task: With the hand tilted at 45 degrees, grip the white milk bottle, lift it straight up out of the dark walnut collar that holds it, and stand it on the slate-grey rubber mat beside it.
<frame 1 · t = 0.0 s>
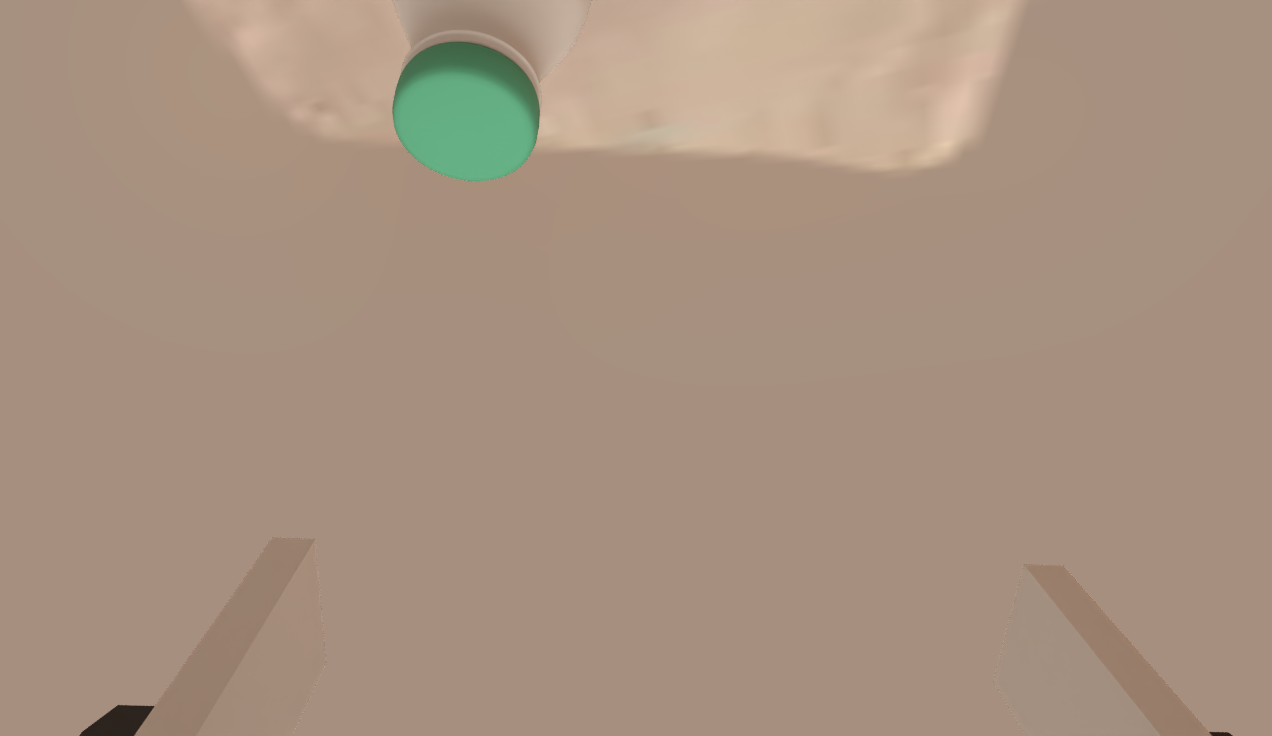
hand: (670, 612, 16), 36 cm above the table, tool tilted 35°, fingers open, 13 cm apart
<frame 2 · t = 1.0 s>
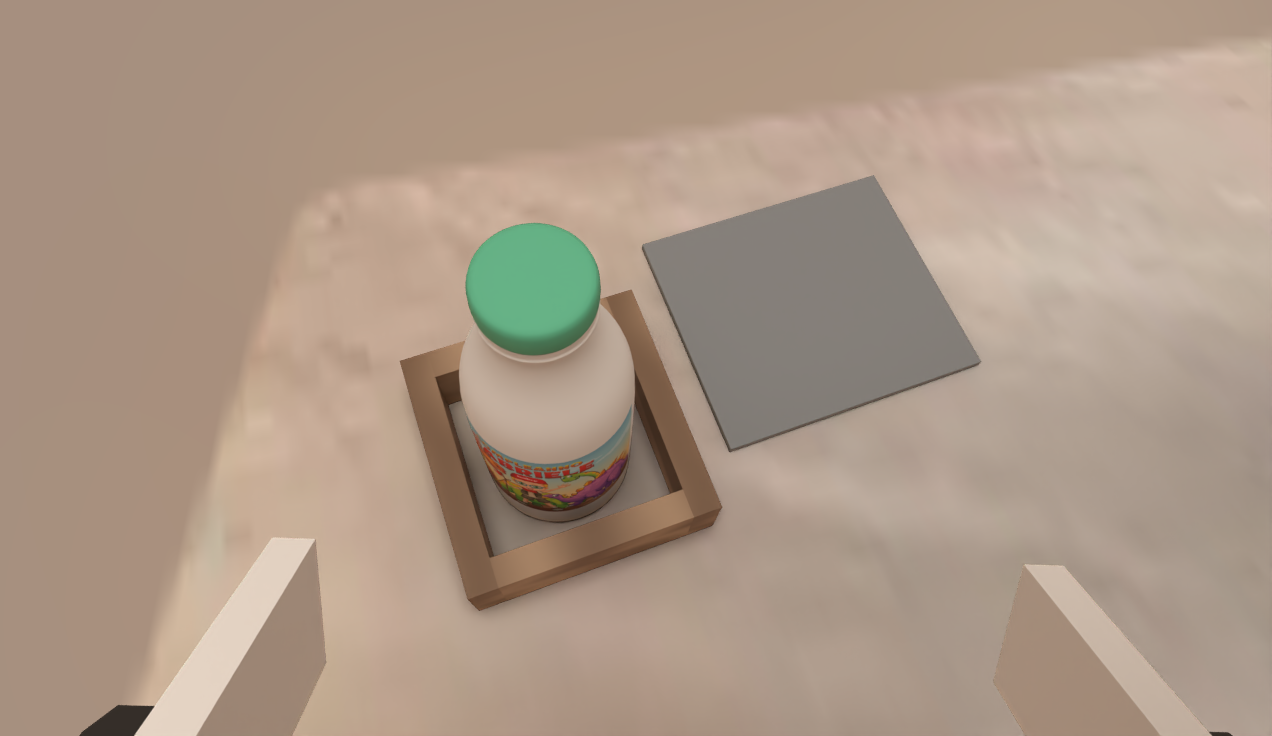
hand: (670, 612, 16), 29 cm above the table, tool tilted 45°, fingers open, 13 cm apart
milk bottle: (560, 456, 47), resting in walnut collar
slate mat: (806, 305, 51), on the table
walnut collar: (559, 455, 47), on the table
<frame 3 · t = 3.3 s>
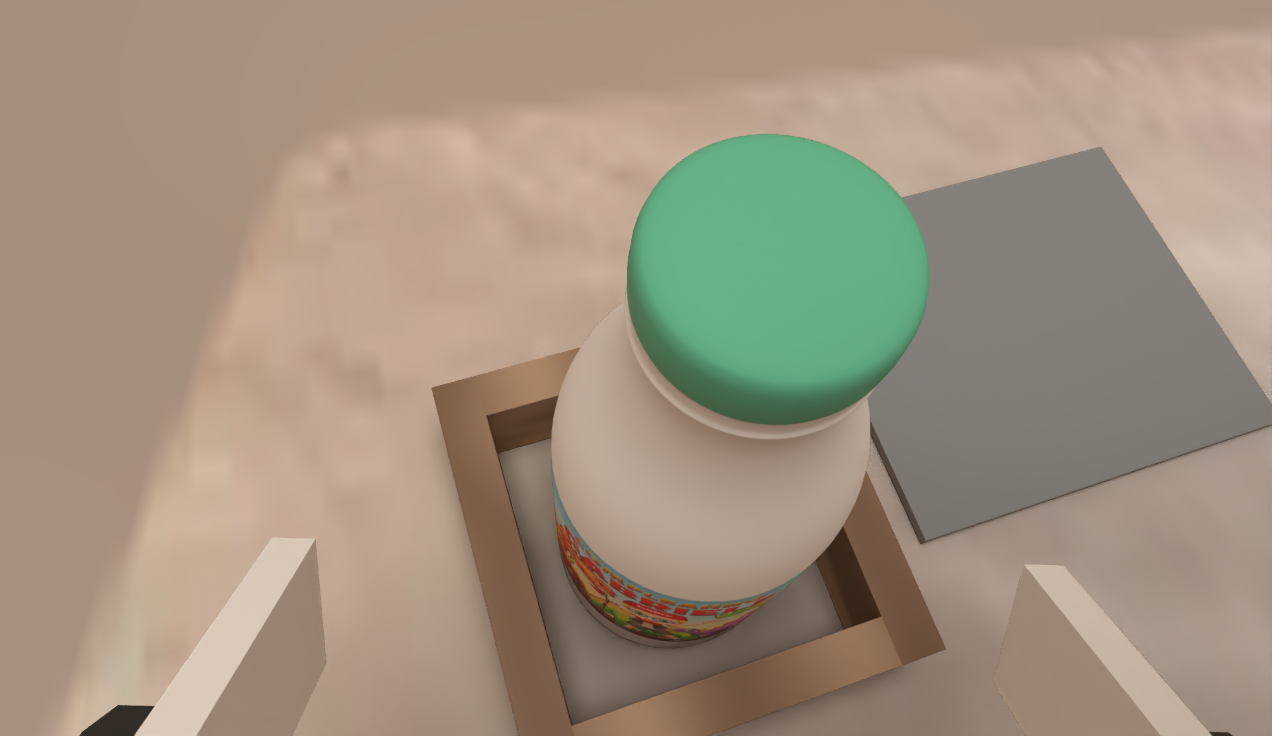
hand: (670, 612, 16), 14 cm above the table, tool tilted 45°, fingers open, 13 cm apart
milk bottle: (665, 540, 31), resting in walnut collar
slate mat: (1017, 326, 35), on the table
walnut collar: (665, 539, 31), on the table
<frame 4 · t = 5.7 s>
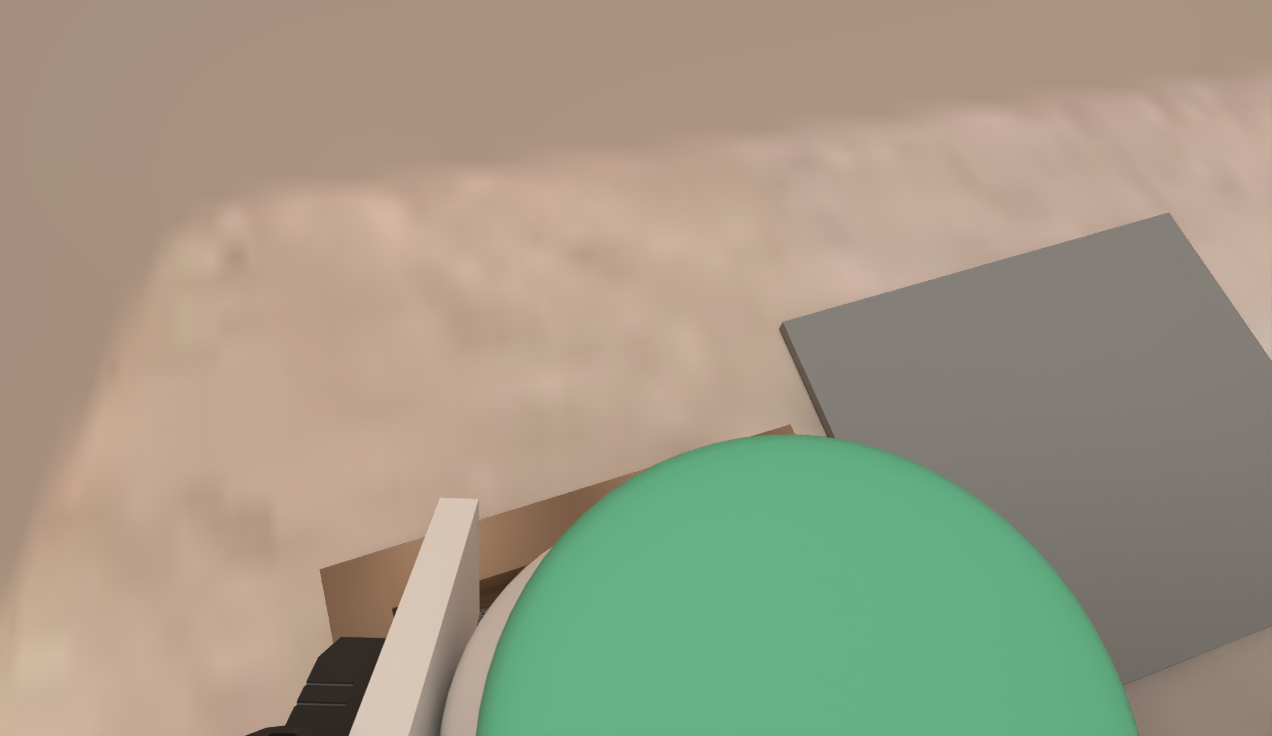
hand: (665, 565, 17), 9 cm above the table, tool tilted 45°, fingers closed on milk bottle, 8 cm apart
slate mat: (1077, 444, 28), on the table
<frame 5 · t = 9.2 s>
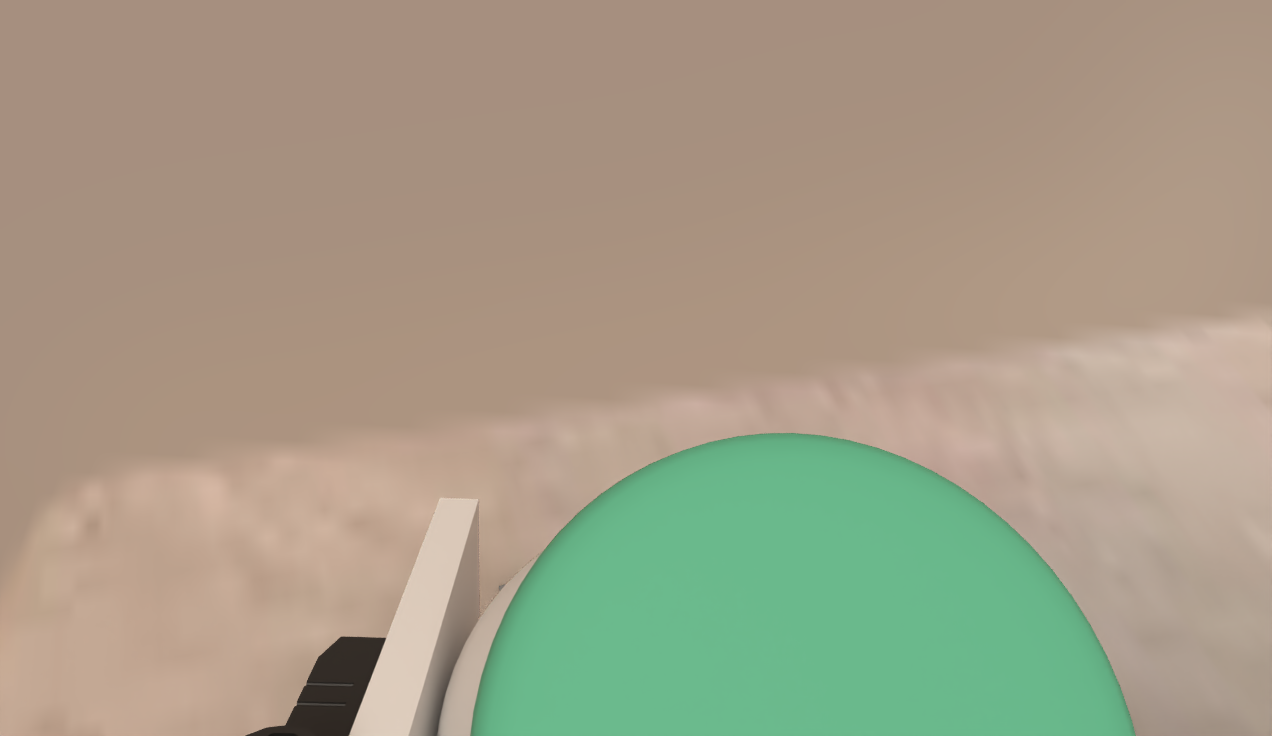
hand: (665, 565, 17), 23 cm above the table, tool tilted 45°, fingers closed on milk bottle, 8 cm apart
when the fingers open (10 cm above the table, at t = 13.1 s): milk bottle drops 1 cm, resting on slate mat.
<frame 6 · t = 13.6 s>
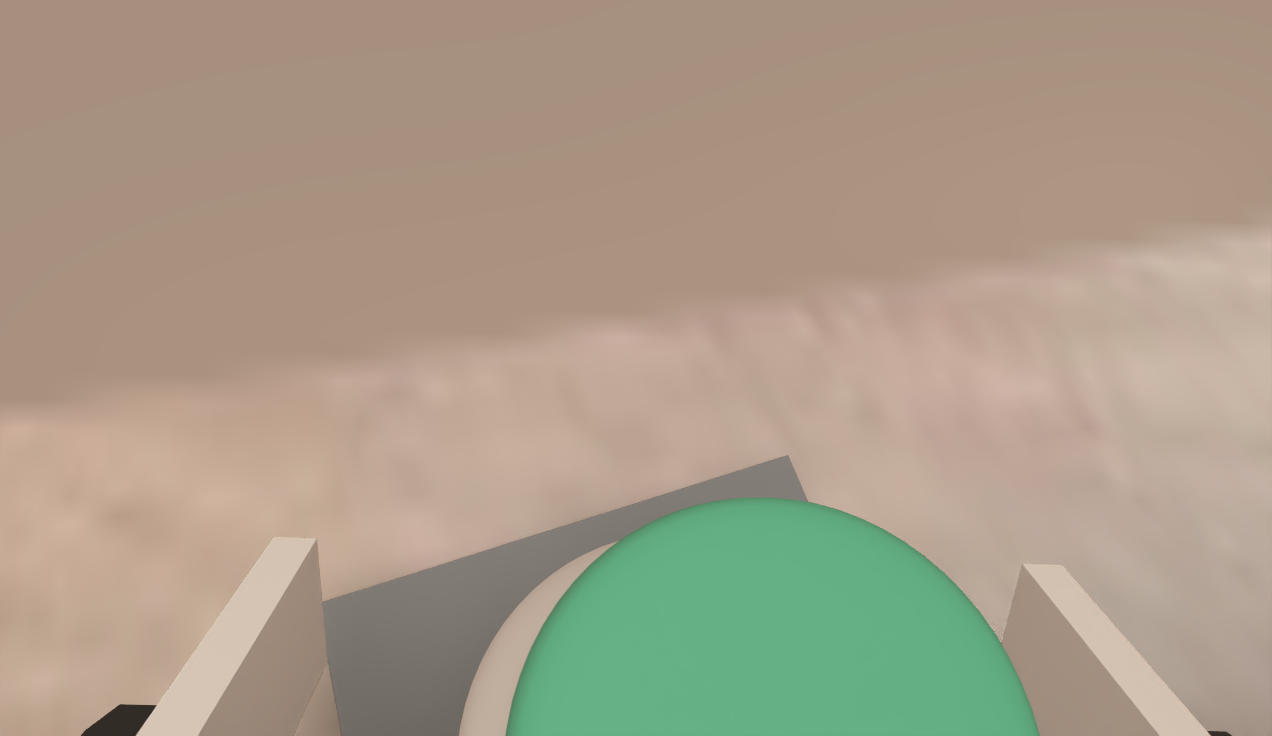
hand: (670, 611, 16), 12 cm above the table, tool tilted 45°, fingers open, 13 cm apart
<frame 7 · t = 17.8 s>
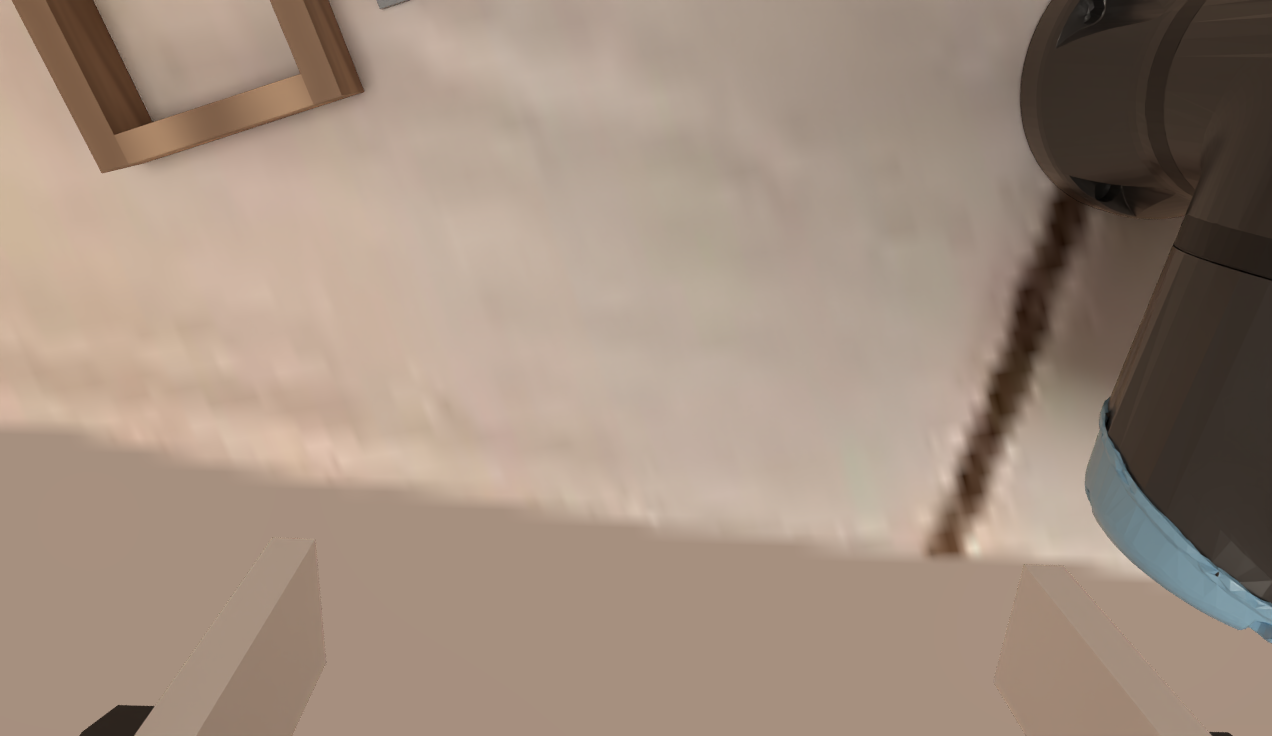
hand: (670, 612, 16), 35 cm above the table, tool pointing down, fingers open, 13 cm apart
walnut collar: (196, 2, 43), on the table
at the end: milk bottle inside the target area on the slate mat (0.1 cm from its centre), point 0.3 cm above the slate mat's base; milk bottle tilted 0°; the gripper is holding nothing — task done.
